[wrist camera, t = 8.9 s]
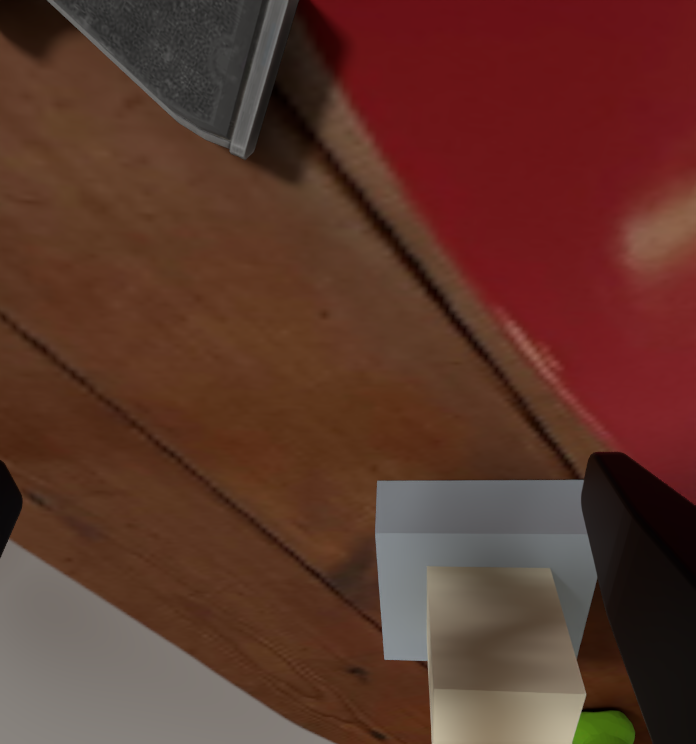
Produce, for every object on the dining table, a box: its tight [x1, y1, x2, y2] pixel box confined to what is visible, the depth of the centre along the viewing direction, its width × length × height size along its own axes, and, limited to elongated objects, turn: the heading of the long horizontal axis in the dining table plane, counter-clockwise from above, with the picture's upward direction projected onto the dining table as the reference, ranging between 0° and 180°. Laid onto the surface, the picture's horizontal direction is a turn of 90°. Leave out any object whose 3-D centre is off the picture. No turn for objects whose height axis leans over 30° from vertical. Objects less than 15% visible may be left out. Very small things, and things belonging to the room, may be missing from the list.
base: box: [375, 480, 597, 661], centre depth 25 cm, size 9×9×3 cm
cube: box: [427, 566, 586, 744], centre depth 22 cm, size 5×5×5 cm
